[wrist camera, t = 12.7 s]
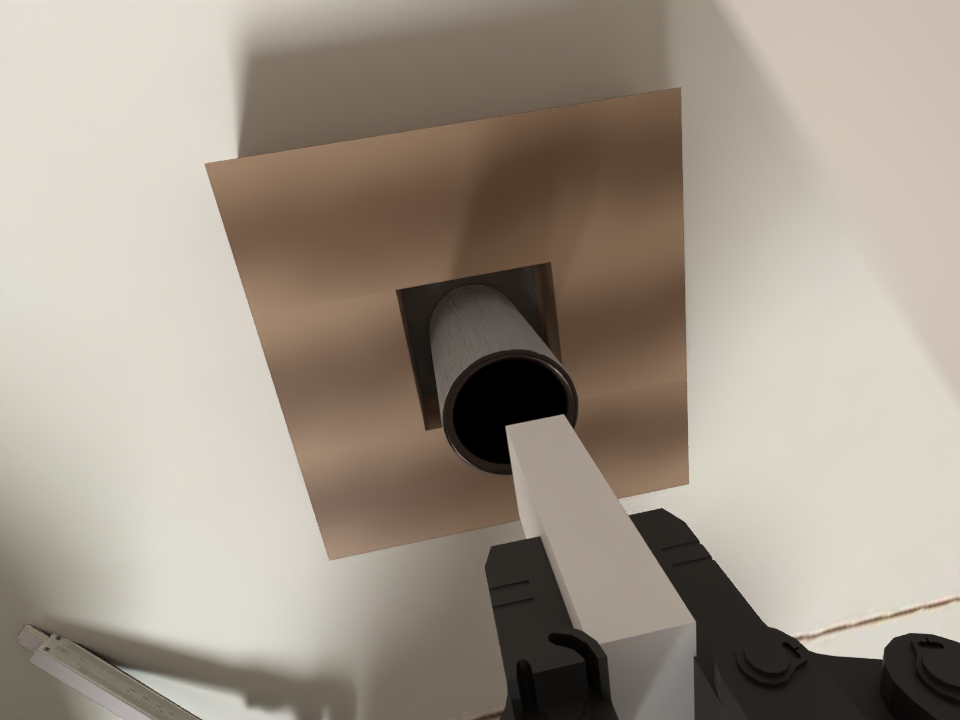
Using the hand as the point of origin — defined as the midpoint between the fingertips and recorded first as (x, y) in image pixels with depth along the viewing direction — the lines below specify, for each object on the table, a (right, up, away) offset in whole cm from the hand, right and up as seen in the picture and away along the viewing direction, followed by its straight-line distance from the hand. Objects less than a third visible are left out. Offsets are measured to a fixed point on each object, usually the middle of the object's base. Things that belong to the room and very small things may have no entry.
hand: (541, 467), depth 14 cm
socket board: (-2, +5, +13) cm, 14 cm away
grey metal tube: (-2, +4, +13) cm, 14 cm away
